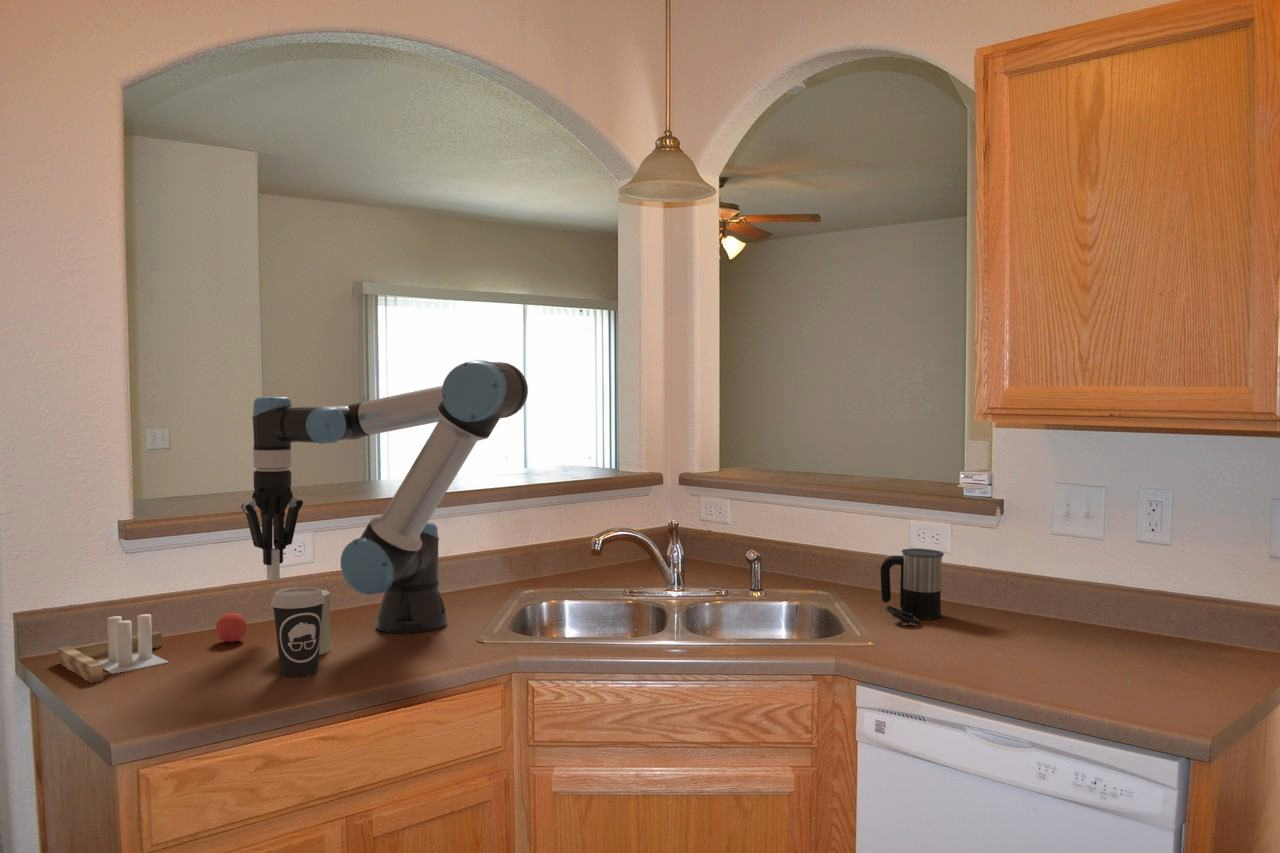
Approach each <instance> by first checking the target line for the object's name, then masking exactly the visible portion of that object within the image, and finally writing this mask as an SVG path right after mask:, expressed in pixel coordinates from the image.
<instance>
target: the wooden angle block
mask: <svg viewBox="0 0 1280 853" xmlns="http://www.w3.org/2000/svg"><path fill="white" fill-rule="evenodd" d="M162 645H163V642H162V632H160V631H159V630H158V631H153V632H152V650H154V649H153V648H156V649H160V648H159V647H161V648H162ZM136 651H138V634H136V635H132V652H136ZM103 657H108V639H107V640H103V641H98V642H92V643H86V644H81V645H75V646H74V645H73V646H70V645H69V646H63V647H57V664H58V663H59V664H61V665H62V666H61V665H60V666H61V667H63V666H64V667H66V668H67V669H66V668H65V669H66V670H68V669H69V670H71V671H72V672H71V671H70V672H71V673H73V672H74V673H73V674H75V673H76V674H77V675H76V674H75V675H76V676H78V675H79V676H78V677H80V678H81V677H82V678H81V679H83V678H84V679H83V680H84V681H86V680H87V682H88V681H89V682H88V683H90V684H93V682H95V683H98V682H99V681H100V682H103V681H104V670H103V664H102V663H100V662H98V661H96V660H94V659H99V658H103ZM59 664H58V665H59ZM64 667H63V668H64ZM69 670H68V671H69Z"/></svg>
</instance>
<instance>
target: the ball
mask: <svg viewBox="0 0 1280 853" xmlns="http://www.w3.org/2000/svg"><path fill="white" fill-rule="evenodd" d="M247 631H248V622H247V620H246V618H245V617H244V616H243V615H241V614H240V613H236V612H228V613H225V614H224V615H222V616H220V617H219V619H218V620H217V623H216V626H215V632H216V635H217V637H218V638H219V639H220V640H221V641H222V642H225V643H236V642H238V641H240V640H241V639H243V638H244V636H245V635H246V633H247Z"/></svg>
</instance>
